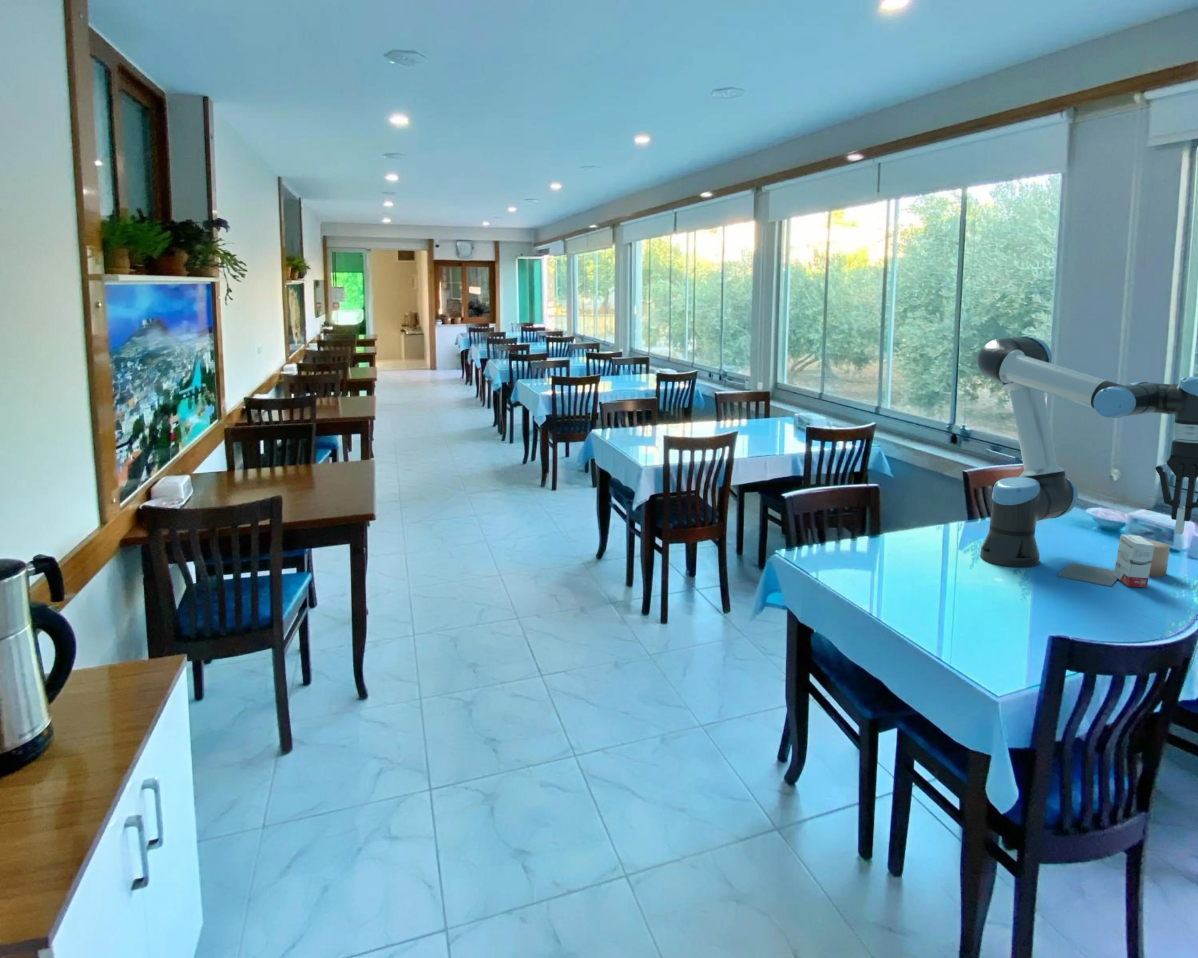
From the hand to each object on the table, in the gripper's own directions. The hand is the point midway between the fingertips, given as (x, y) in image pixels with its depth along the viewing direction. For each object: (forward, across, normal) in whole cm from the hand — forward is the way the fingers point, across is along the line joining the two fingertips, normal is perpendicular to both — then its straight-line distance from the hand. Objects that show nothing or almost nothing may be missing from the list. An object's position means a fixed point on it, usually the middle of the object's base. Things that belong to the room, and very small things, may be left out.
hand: (1178, 532), depth 193 cm
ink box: (+15, -9, 0) cm, 18 cm away
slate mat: (+15, -18, 0) cm, 23 cm away
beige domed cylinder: (+15, -6, +12) cm, 21 cm away
